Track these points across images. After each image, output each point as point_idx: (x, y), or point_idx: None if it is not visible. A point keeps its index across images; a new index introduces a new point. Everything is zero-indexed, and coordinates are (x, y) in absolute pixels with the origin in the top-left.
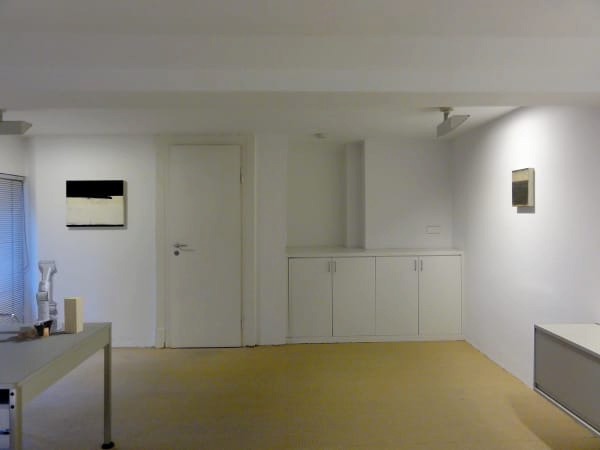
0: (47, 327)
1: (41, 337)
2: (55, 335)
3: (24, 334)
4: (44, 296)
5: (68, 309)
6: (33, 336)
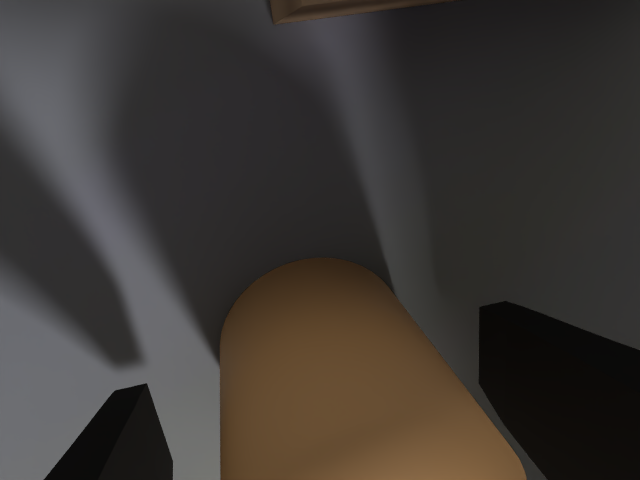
0: (605, 474)
1: (220, 351)
2: None
3: None
4: None
5: None
6: (347, 14)
